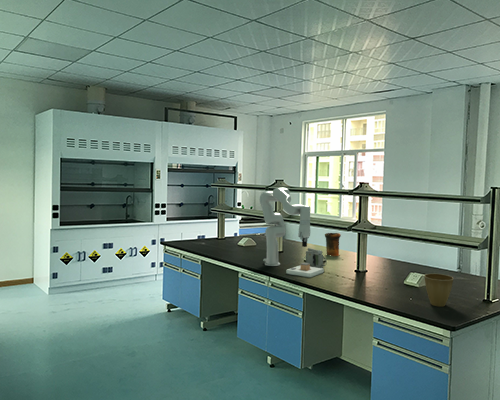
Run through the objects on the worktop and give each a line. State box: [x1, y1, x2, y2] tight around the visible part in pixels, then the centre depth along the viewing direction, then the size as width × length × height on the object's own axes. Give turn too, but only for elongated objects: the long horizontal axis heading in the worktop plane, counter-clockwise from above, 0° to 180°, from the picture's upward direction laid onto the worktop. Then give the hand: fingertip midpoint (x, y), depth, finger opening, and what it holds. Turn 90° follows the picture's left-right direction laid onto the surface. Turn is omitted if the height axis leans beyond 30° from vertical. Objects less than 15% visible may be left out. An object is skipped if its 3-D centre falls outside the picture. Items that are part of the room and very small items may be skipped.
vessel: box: [324, 232, 342, 257], centre depth 386 cm, size 14×14×20 cm
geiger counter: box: [305, 247, 328, 269], centre depth 338 cm, size 14×6×25 cm
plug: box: [300, 262, 311, 271], centre depth 314 cm, size 5×5×7 cm
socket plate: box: [286, 264, 324, 278], centre depth 314 cm, size 20×20×4 cm
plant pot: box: [424, 273, 454, 307], centre depth 236 cm, size 15×15×16 cm
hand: (304, 246), depth 315 cm, fingers closed
